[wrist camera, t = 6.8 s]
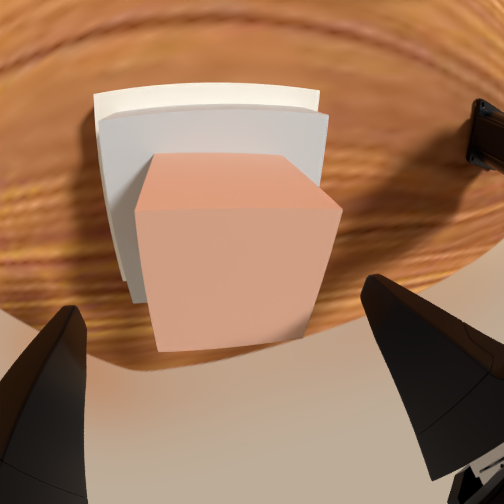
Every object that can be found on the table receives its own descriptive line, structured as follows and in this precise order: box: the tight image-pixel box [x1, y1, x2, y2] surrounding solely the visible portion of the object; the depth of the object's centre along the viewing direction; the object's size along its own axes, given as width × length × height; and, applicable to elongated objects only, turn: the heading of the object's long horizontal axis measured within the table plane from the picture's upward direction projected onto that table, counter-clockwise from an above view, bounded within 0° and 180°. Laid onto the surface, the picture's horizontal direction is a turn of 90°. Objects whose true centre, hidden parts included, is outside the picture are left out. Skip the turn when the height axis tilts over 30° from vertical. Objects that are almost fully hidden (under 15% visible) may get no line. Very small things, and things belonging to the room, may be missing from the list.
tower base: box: [94, 83, 320, 281], centre depth 15 cm, size 11×11×3 cm
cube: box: [135, 153, 343, 352], centre depth 10 cm, size 5×5×5 cm
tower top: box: [98, 104, 329, 304], centre depth 13 cm, size 9×9×3 cm
